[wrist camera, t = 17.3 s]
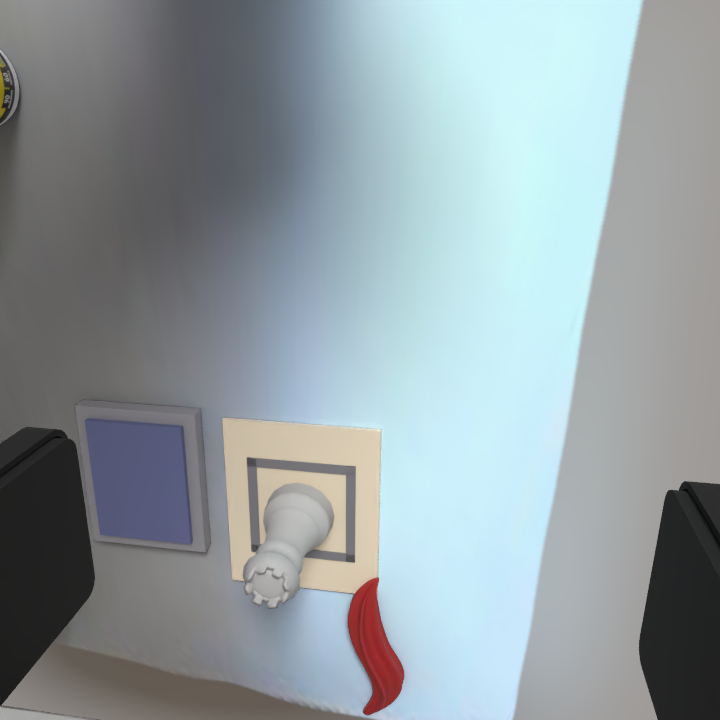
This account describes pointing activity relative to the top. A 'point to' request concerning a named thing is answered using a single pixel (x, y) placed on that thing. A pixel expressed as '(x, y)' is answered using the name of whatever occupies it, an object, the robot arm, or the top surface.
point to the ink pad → (145, 474)
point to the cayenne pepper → (374, 647)
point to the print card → (315, 468)
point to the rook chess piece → (287, 542)
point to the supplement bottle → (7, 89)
